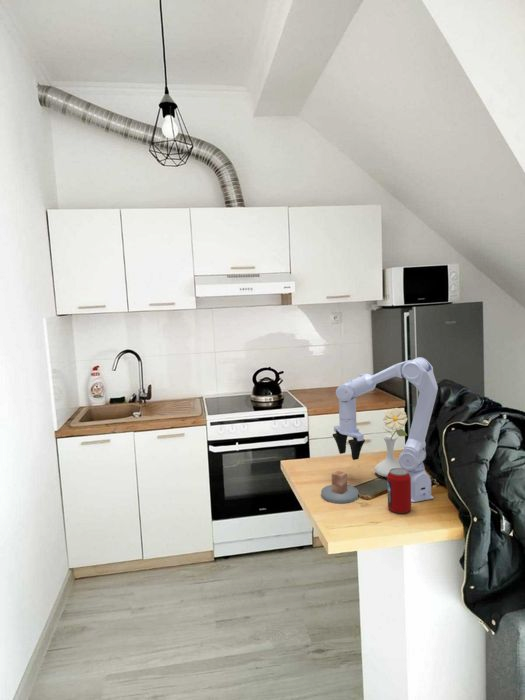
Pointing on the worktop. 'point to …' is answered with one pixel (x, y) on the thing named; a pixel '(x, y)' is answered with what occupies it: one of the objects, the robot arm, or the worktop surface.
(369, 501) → the worktop surface
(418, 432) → the robot arm
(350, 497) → the slate base plate
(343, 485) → the terracotta block
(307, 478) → the worktop surface
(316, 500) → the worktop surface
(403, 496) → the beverage can
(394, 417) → the flower in vase
